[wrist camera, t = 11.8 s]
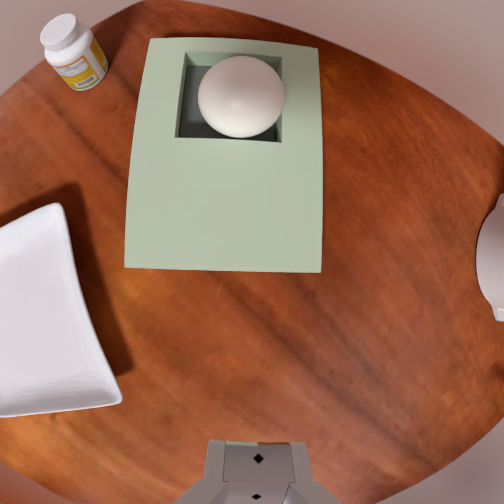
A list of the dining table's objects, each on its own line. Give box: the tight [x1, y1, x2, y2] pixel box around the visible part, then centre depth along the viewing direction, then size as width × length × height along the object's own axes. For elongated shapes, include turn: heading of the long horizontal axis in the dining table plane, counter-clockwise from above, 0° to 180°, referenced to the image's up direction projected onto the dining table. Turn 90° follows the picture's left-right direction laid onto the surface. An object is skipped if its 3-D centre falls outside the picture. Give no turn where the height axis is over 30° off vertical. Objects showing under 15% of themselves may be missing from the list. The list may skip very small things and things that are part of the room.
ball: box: [198, 56, 285, 138], centre depth 27 cm, size 8×8×8 cm
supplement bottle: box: [40, 14, 108, 91], centre depth 24 cm, size 5×5×10 cm
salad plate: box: [0, 203, 123, 417], centre depth 28 cm, size 21×21×3 cm
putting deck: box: [125, 37, 323, 273], centre depth 30 cm, size 18×24×3 cm
